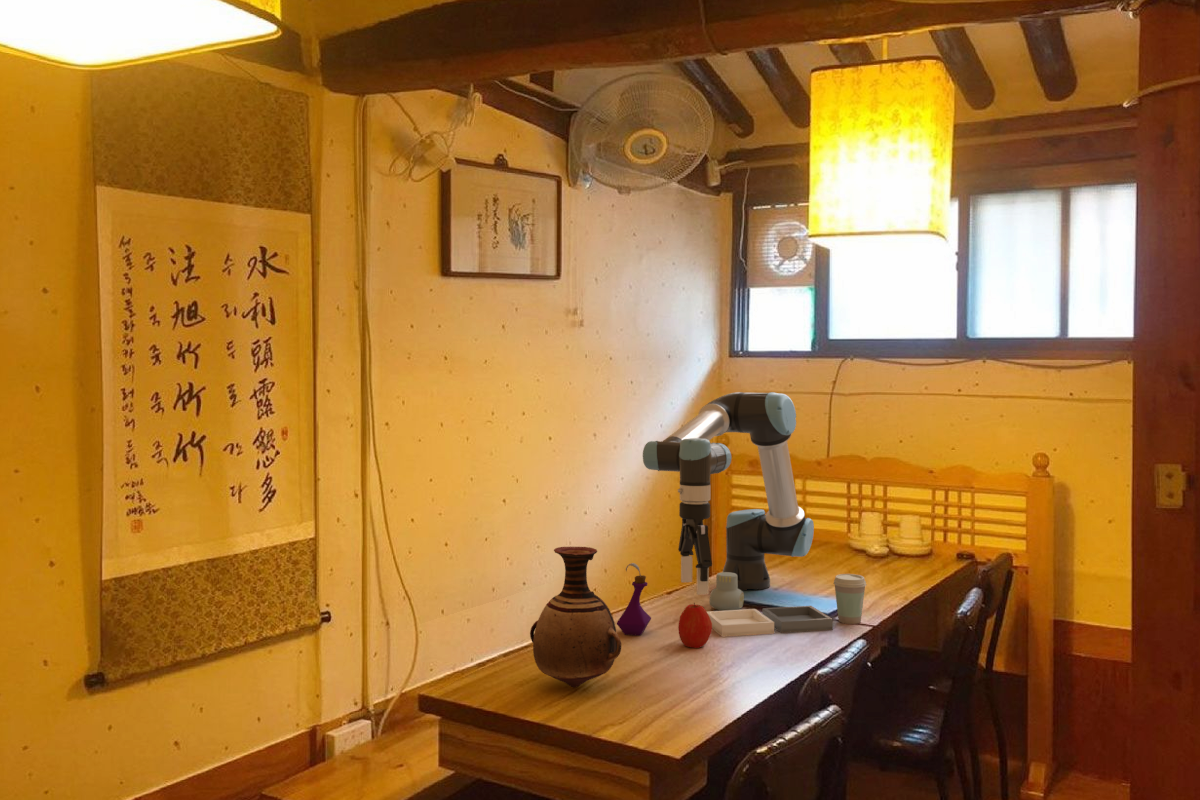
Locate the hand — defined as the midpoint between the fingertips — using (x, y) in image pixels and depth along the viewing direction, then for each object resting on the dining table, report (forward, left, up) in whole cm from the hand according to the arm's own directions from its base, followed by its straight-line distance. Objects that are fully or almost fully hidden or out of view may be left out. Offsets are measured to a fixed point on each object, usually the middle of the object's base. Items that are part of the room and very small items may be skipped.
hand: (694, 588), depth 252 cm
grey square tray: (-13, +32, -14) cm, 38 cm away
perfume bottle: (-14, -12, -15) cm, 24 cm away
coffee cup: (-13, +47, -15) cm, 51 cm away
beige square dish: (-13, +16, -14) cm, 25 cm away
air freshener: (-32, +19, -15) cm, 40 cm away
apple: (0, 0, -15) cm, 15 cm away
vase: (+24, -34, -15) cm, 44 cm away
